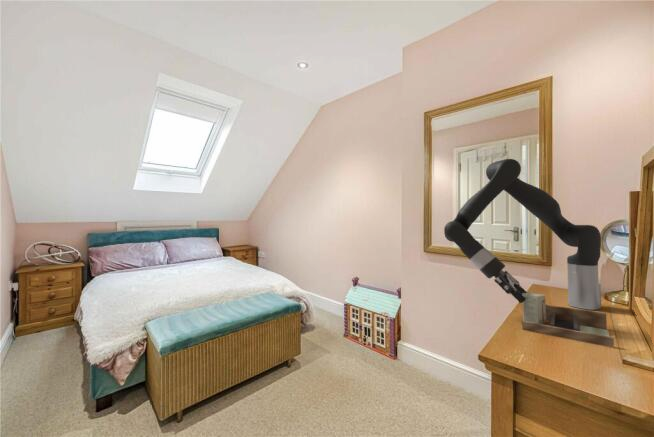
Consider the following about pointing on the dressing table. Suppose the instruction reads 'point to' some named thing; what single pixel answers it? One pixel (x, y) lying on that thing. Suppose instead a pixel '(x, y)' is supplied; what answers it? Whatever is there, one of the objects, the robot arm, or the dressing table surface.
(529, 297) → the skincare box
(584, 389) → the dressing table surface
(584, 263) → the robot arm
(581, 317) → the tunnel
